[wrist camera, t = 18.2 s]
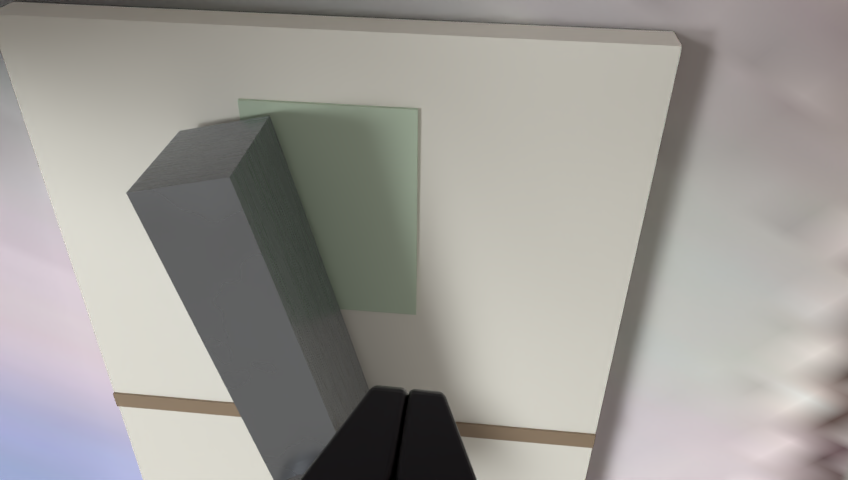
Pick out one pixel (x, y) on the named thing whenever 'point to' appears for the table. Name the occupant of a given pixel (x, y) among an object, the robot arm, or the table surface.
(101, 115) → the board
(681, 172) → the table surface
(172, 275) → the bar
